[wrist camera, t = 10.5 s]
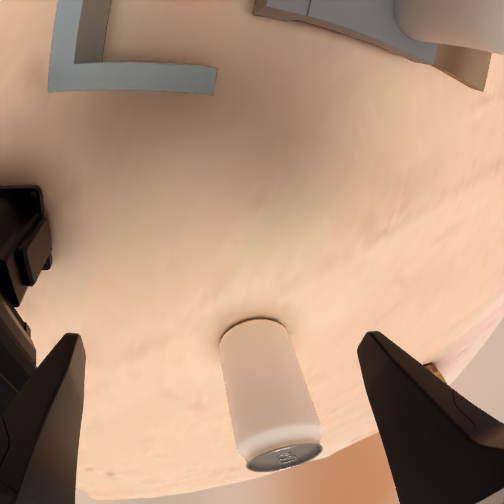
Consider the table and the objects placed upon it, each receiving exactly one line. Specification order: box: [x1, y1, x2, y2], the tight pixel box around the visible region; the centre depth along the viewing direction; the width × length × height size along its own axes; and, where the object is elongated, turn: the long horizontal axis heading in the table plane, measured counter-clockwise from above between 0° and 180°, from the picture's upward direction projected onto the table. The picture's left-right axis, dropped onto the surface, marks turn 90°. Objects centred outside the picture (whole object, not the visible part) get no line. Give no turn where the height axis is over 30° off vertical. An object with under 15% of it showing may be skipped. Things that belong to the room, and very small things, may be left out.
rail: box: [431, 43, 492, 92], centre depth 16 cm, size 10×4×1 cm, turn 80°
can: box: [219, 319, 323, 472], centre depth 24 cm, size 6×6×12 cm
